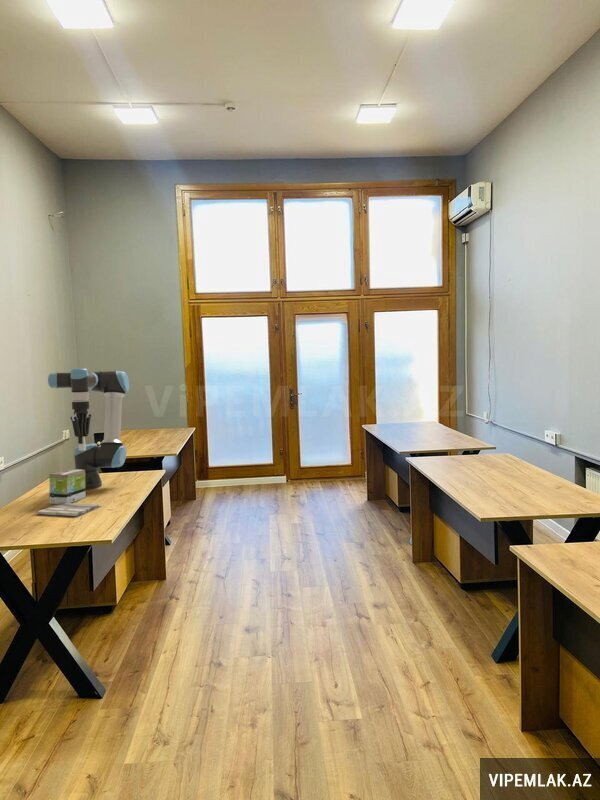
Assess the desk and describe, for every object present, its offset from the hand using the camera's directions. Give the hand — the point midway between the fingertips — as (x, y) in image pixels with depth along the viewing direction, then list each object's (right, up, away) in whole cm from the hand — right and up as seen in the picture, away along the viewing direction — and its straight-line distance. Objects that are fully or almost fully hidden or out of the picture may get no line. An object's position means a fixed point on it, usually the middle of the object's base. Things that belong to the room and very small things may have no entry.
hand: (82, 450), depth 253 cm
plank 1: (-8, -27, -13) cm, 31 cm away
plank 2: (+2, -27, -15) cm, 31 cm away
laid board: (-1, -27, -6) cm, 27 cm away
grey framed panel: (-2, -27, -9) cm, 29 cm away
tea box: (-10, -26, +8) cm, 29 cm away
